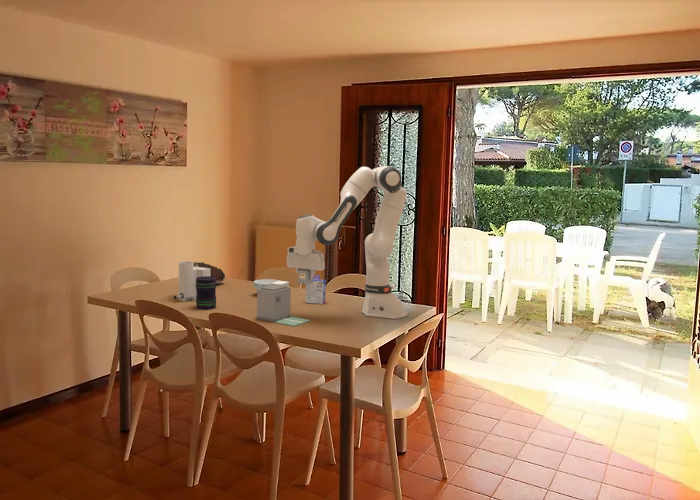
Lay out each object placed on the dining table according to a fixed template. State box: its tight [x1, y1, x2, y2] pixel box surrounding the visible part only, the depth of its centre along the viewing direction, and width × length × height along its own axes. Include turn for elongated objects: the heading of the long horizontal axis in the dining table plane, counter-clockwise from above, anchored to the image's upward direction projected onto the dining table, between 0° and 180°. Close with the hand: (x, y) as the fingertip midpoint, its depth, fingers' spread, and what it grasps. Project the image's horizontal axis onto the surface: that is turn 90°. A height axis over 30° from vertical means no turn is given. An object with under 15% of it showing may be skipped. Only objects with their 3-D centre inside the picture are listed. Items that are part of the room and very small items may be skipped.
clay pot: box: [193, 261, 226, 285], centre depth 353 cm, size 15×15×25 cm
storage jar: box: [195, 276, 217, 311], centre depth 296 cm, size 10×10×15 cm
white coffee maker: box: [173, 260, 210, 302], centre depth 313 cm, size 16×19×20 cm
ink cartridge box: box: [304, 274, 327, 305], centre depth 313 cm, size 10×6×14 cm, turn 78°
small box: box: [271, 280, 290, 288], centre depth 299 cm, size 8×6×13 cm
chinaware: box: [253, 278, 281, 291], centre depth 330 cm, size 15×15×8 cm
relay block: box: [297, 269, 313, 285], centre depth 282 cm, size 5×5×6 cm
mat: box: [274, 316, 311, 327], centre depth 272 cm, size 11×12×1 cm
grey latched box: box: [255, 285, 293, 323], centre depth 278 cm, size 11×13×15 cm
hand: (305, 278), depth 283 cm, fingers closed on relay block, 5 cm apart
